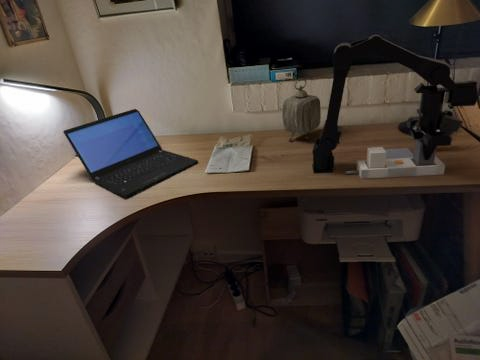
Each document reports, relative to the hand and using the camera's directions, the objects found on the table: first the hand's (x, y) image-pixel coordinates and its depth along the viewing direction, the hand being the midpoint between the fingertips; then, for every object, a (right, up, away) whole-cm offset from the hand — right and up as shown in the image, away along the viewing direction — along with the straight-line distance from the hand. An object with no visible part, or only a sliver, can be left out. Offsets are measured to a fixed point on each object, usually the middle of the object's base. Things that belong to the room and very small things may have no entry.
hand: (423, 156), depth 102 cm
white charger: (-13, -5, +4) cm, 15 cm away
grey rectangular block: (0, -3, +2) cm, 4 cm away
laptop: (-98, -3, +31) cm, 102 cm away
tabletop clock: (-30, +10, +38) cm, 50 cm away
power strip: (-8, -5, +4) cm, 10 cm away
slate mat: (-2, +1, +13) cm, 13 cm away
